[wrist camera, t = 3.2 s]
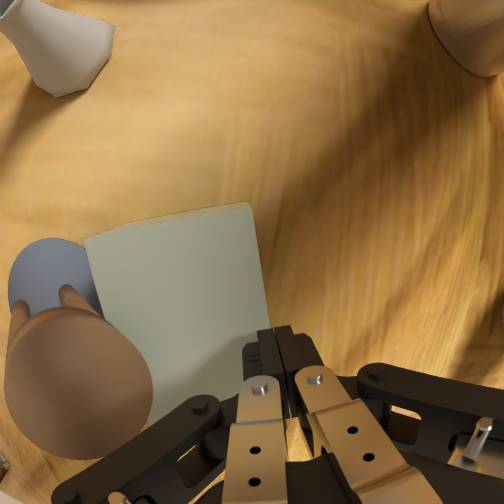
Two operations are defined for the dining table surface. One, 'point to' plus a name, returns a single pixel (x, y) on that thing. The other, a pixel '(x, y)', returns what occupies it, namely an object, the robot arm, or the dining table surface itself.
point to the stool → (74, 380)
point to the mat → (51, 275)
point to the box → (184, 297)
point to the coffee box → (3, 466)
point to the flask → (56, 44)
